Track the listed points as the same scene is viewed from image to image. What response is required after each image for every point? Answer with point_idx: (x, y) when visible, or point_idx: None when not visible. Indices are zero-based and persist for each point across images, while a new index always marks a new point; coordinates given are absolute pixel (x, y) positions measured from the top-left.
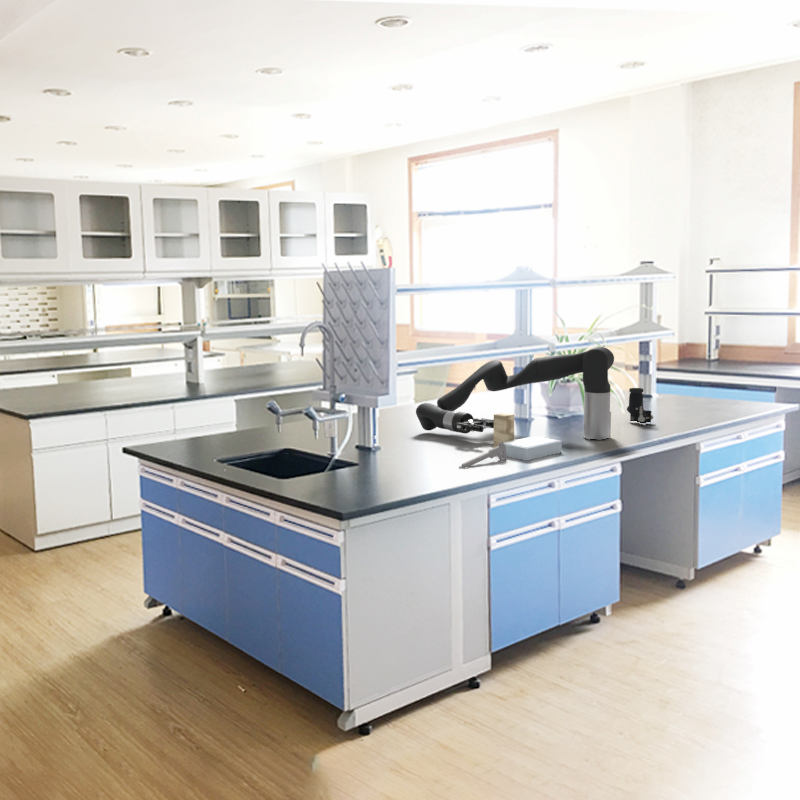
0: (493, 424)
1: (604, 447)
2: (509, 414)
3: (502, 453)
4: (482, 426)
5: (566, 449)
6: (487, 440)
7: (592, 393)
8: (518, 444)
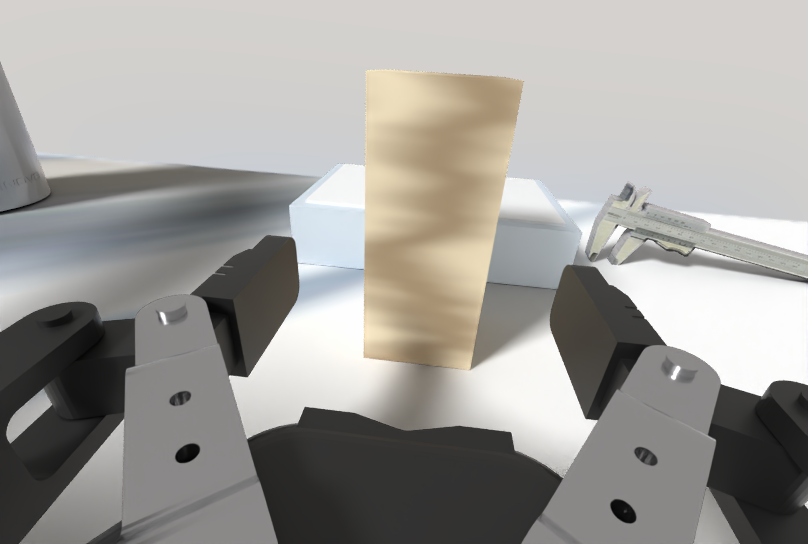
0: (265, 298)
1: (194, 177)
2: (412, 71)
3: (607, 238)
4: (575, 267)
5: (276, 208)
6: None
7: None
8: (525, 194)
